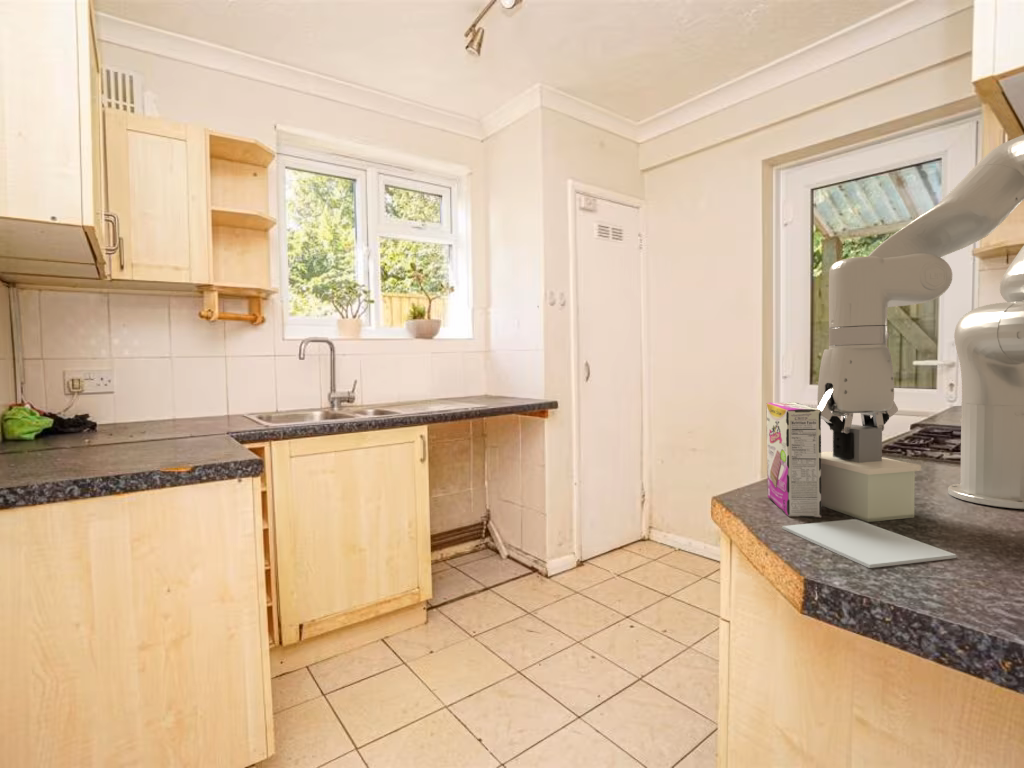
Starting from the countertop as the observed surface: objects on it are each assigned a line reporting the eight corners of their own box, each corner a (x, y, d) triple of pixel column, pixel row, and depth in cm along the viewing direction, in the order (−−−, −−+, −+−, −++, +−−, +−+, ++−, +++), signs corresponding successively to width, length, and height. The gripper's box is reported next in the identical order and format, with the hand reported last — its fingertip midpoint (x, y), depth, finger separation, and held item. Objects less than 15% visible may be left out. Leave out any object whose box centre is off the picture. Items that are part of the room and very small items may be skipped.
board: (855, 521, 74) (855, 519, 74) (956, 557, 60) (956, 554, 60) (782, 528, 72) (782, 526, 72) (869, 568, 58) (869, 564, 58)
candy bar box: (765, 497, 88) (764, 402, 87) (797, 498, 87) (797, 401, 86) (786, 517, 77) (786, 408, 76) (823, 518, 76) (823, 408, 75)
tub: (846, 496, 87) (846, 455, 87) (914, 517, 75) (914, 470, 75) (805, 500, 86) (805, 458, 85) (867, 521, 74) (868, 473, 73)
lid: (846, 461, 87) (847, 421, 87) (920, 478, 75) (921, 431, 74) (800, 465, 86) (800, 423, 85) (868, 483, 73) (868, 434, 73)
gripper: (881, 339, 84) (880, 449, 85) (792, 341, 81) (792, 455, 82) (926, 337, 77) (924, 458, 78) (829, 339, 74) (829, 465, 75)
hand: (856, 455), depth 80 cm, fingers closed on lid, 4 cm apart
